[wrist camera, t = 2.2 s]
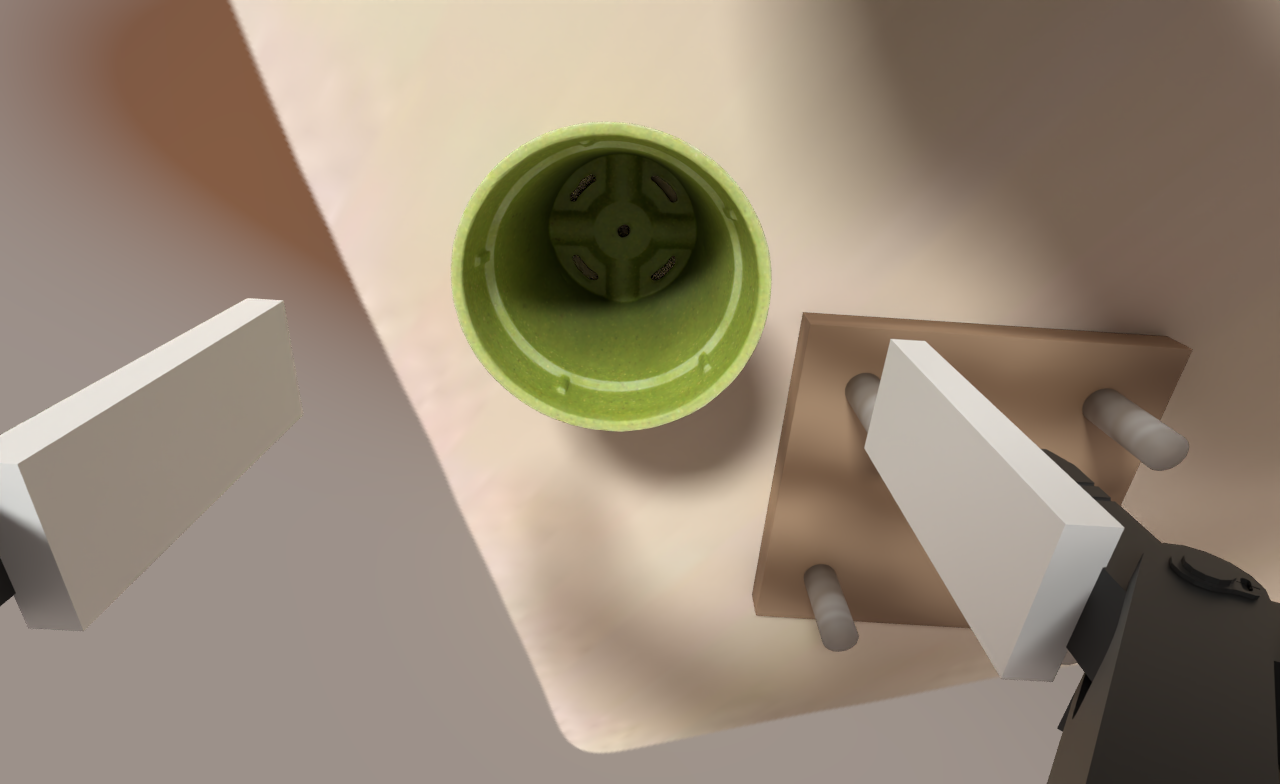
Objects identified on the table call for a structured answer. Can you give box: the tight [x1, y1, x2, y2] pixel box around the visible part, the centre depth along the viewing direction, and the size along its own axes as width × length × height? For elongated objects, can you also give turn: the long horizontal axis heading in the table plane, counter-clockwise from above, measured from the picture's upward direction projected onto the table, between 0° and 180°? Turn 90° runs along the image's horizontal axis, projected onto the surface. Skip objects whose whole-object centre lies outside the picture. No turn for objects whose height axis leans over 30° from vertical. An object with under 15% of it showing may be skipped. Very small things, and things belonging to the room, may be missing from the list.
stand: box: [752, 312, 1193, 665], centre depth 30 cm, size 16×16×6 cm
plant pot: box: [451, 122, 771, 432], centre depth 23 cm, size 9×9×9 cm
